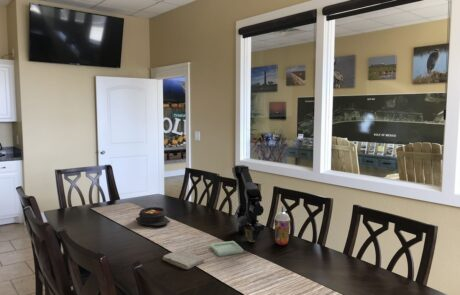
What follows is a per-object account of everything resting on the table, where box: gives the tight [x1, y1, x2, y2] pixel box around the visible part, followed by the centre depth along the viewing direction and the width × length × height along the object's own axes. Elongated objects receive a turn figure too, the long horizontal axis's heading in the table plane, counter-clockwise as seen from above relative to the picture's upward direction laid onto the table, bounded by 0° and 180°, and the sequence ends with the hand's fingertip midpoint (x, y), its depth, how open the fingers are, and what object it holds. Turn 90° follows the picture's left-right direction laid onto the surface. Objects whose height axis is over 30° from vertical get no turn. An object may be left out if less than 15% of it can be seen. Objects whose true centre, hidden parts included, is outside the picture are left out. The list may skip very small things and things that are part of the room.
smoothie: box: [273, 206, 291, 246], centre depth 196 cm, size 8×8×20 cm
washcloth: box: [162, 249, 205, 270], centre depth 174 cm, size 12×18×3 cm, turn 51°
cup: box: [244, 226, 256, 243], centre depth 199 cm, size 8×7×8 cm
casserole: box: [135, 206, 171, 227], centre depth 231 cm, size 25×19×8 cm
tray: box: [209, 240, 244, 257], centre depth 187 cm, size 13×13×2 cm
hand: (251, 238), depth 199 cm, fingers closed on cup, 6 cm apart
